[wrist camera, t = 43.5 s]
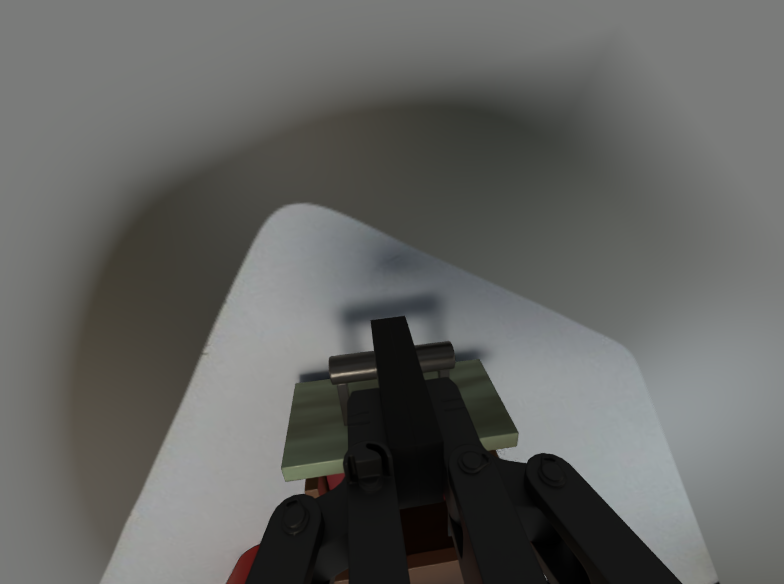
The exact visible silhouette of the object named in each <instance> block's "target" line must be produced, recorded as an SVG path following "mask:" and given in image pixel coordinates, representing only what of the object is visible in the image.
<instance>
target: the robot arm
mask: <svg viewBox="0 0 784 584" xmlns="http://www.w3.org/2000/svg"><path fill="white" fill-rule="evenodd" d="M371 328H372V337H373V345H374V354H375V363H376V371H377V378H378V386H379V387H378V388H371V389H364V390H357V391H352V393H351V395H350V397H349V399H348V401H347V425H348V451H347V452H346V454H345V455H344V460H343V469H344V474H345V477H344V478H343V480H342V481H341V482H340V483H339V484H338V485H337V486H336V487H335V488H333V489H332V490H330V491H329V492H327V493H325V494H323V495H321V496H319V497H317V498H314V497H313V496H310V495H306V494H299V495H293V496H291V497H289V498H287V499H285V500H284V501H283V502H282V503H281V504H280V505H279V506H277V507H276V509H275V511H274V512H273V514H272V516H271V518H270V520H269V523H268V525H267V528H266V530H265V533H264V535H263V538H262V541H261V543H260V546H259V548H258V551H257V553H256V556H255V558H254V561H253V563H252V566H251V568H250V571H249V574H248V576H247V579H246V581H245V584H334V581H335V576H336V575H338V574H340V573H341V572H343V571H345V570H346V569H348V575H349V584H410V577H409V571H408V564H407V557H406V551H405V544H404V537H403V531H402V524H401V517H400V510H399V509H405V508H411V507H417V506H423V505H428V504H434V503H440V502H444V496H445V500H446V504H447V508H448V536H452V538H453V542H454V546H455V550H456V554H457V557H458V561H459V565H460V569H461V573H462V577H463V581H464V584H548V583H547V580H546V578H547V579H548V581H549V582H550V584H682V583H681V582H680V581H679V580H678V579H677V577H676V576H675V575H674V574H673V573H672V572H671V571H670V570H669V569H668V568H667V567H666V566H665V565H664V564H663V563H662V561H661V560H660V559H659V558H658V557H657V556H656V555H655V554H654V553H653V552H652V551H651V550H650V549H649V548H648V547H647V546H646V544H645V543H644V542H643V541H642V540H641V539H640V538H639V537H638V536H637V535H636V534H635V533H634V532H633V531H632V530H631V529H630V527H629V526H628V525H627V524H626V523H625V522H624V521H623V520H622V519H621V518H620V517H619V516H618V515H617V514H616V513H615V512H614V510H613V509H612V508H611V507H610V506H609V505H608V504H607V503H606V502H605V501H604V500H603V499H602V498H601V497H600V496H599V495H598V493H597V492H596V491H595V490H594V489H593V488H592V487H591V486H590V485H589V484H588V483H587V482H586V481H585V480H584V479H583V478H582V476H581V475H580V474H579V473H578V472H577V471H576V470H575V469H574V468H573V467H572V466H571V465H570V464H569V463H567V462H566V461H565V460H564V459H562V458H560V457H558V456H555V455H553V454H546V453H541V454H537V455H534V456H533V457H531V458H530V459H529V460H528V462H527V463H520V462H513V461H507V460H503V459H500V458H498V457H496V456H494V455H492V454H491V453H490V452H489V451H487V450H486V449H485V448H484V446H483V445H482V443H481V441H480V439H479V436H478V434H477V432H476V429H475V427H474V424H473V422H472V420H471V417H470V415H469V412H468V410H467V408H466V405H465V403H464V400H463V399H462V396H461V393H460V391H459V388H458V386H457V385H456V384H455V383H454V382H453V381H452V380H451V379H450V378H449V377H441V378H434V379H427V380H425V379H424V376H423V372H422V369H421V366H420V363H419V359H418V356H417V353H416V350H415V346H414V343H413V340H412V337H411V333H410V330H409V327H408V324H407V320H406V317H405V316H400V317H392V318H384V319H376V320H371ZM543 573H544V574H543ZM544 575H545V576H546V578H545V576H544Z"/></svg>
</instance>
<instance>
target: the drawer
mask: <svg viewBox="0 0 784 584" xmlns="http://www.w3.org/2000/svg"><path fill="white" fill-rule="evenodd" d="M414 346H415V350H416V353H417V356H418V359H419V363H420V366H421V369H422V372H423V376H424V379H425V380H427V379H434V378H441V377H449V378H450V379H451V380H452V381H453V382H454V383H455V384H456V385H457V386H458V388H459V391H460V393H461V396H462V399H463V400H464V403H465V405H466V408H467V410H468V412H469V415H470V417H471V420H472V422H473V424H474V427H475V429H476V432H477V434H478V436H479V439H480V441H481V443H482V445H483V446H484V448H485V449H486V450H487V451H489V452H490V453H491V454H492V455H494V456H496V457H498V458H499V456H498V454H497V452H496V449H503V448H509V447H516V446H517V441H518V434H519V433H518V431H517V429H516V427H515V425H514V423H513V421H512V419H511V417H510V416H509V414H508V412H507V410H506V408H505V406H504V404H503V402H502V401H501V399H500V397H499V395H498V393H497V391H496V389H495V387H494V386H493V384H492V382H491V380H490V378H489V376H488V374H487V372H486V371H485V369H484V367H483V365H482V363H481V361H480V359H475V360H468V361H460V362H455V353H454V349H453V346H452V344H451V342H450V341H445V342H438V343H430V344H422V345H414ZM329 374H330V379H326V380H318V381H311V382H304V383H296V384H295V390H294V396H293V401H292V407H291V413H290V419H289V425H288V431H287V436H286V442H285V448H284V454H283V460H282V466H281V470H282V473H283V476H284V479H285V481H286V482H288V481H294V480H301V479H306V482H305V494H306V495H310V496H313V497H314V498H317V497H319V496H321V495H323V494H325V493H327V492H329V491H330V489H329V485H328V481H327V477H326V476H327V475H333V474H340V473H344V469H343V460H344V455H345V454H346V452H347V451H348V425H347V401H348V399H349V397H350V395H351V393H352V391H357V390H364V389H371V388H378V387H379V386H378V378H377V371H376V363H375V354H374V351H368V352H360V353H353V354H345V355H337V356H331V357H329ZM399 510H400V517H401V524H402V531H403V537H404V544H405V551H406V555H411V554H417V553H422V552H428V551H434V550H440V549H446V548H452V547H455V546H454V542H453V538H452V536H448V508H447V504H446V500H445V499H444V502H440V503H434V504H428V505H423V506H417V507H411V508H405V509H399Z"/></svg>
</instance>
